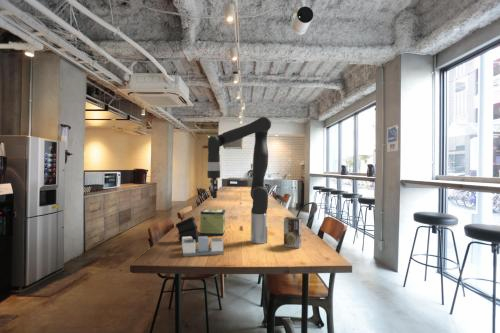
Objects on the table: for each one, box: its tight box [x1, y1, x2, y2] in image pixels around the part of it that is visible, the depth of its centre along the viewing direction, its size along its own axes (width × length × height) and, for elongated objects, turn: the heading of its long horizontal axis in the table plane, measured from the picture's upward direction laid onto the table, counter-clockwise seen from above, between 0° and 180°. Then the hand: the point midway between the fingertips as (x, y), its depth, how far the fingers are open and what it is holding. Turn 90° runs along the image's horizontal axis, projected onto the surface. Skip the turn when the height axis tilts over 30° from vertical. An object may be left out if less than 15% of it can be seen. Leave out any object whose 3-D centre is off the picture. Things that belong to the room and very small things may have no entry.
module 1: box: [181, 236, 193, 250], centre depth 143 cm, size 5×4×6 cm
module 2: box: [197, 235, 209, 252], centre depth 135 cm, size 5×4×7 cm
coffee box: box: [283, 216, 302, 249], centre depth 150 cm, size 9×6×16 cm
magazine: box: [175, 216, 200, 244], centre depth 155 cm, size 4×13×15 cm, turn 81°
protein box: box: [199, 209, 226, 237], centre depth 176 cm, size 10×16×16 cm
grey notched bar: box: [182, 237, 224, 258], centre depth 135 cm, size 20×7×7 cm, turn 104°
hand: (213, 197), depth 154 cm, fingers open, 8 cm apart
